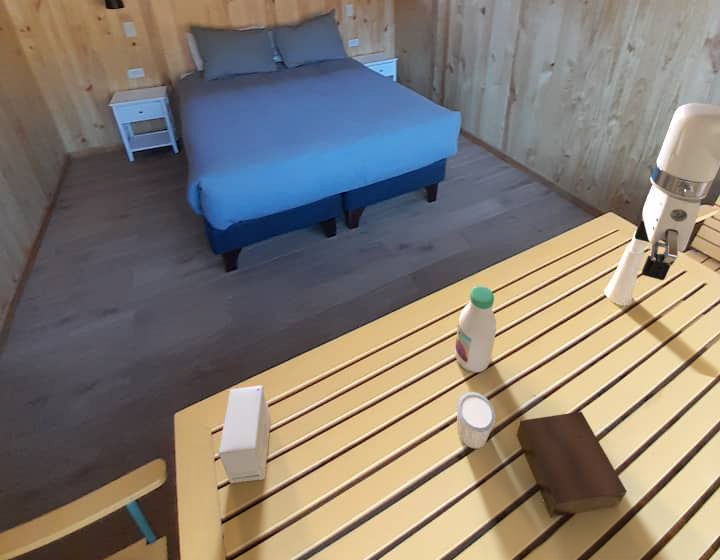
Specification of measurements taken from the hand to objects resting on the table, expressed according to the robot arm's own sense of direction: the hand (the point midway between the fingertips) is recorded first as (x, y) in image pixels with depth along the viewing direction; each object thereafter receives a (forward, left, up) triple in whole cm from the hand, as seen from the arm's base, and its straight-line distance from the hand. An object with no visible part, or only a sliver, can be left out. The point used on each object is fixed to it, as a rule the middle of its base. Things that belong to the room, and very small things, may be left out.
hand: (647, 257), depth 72 cm
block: (+7, +23, -32) cm, 40 cm away
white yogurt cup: (+23, +24, -32) cm, 47 cm away
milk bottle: (+26, +9, -32) cm, 43 cm away
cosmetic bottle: (-5, -23, -32) cm, 40 cm away
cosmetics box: (+60, +44, -32) cm, 82 cm away
